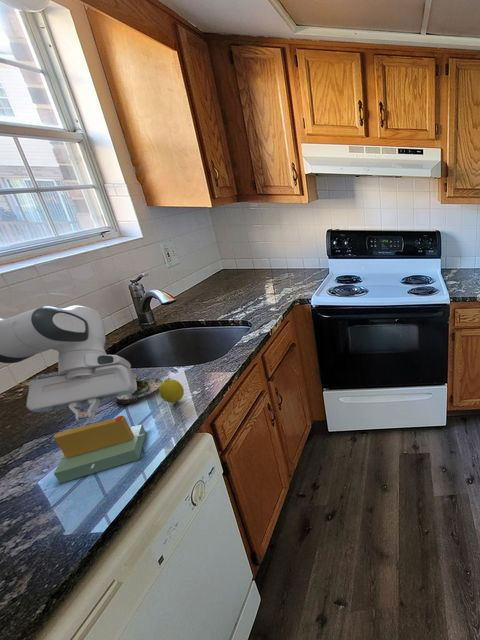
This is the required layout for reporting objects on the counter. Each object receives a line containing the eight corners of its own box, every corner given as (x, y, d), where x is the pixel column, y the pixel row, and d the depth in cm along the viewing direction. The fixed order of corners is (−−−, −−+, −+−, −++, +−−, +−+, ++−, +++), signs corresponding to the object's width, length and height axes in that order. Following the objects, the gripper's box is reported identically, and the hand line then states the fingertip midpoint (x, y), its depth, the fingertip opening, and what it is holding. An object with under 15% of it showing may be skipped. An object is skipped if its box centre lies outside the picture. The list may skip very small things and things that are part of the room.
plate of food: (136, 406, 106) (126, 385, 103) (106, 402, 108) (94, 380, 105) (174, 384, 116) (165, 364, 113) (145, 381, 119) (136, 361, 116)
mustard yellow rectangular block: (66, 458, 83) (53, 437, 80) (69, 453, 84) (56, 432, 82) (132, 439, 88) (121, 419, 85) (133, 435, 90) (123, 414, 87)
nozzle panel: (49, 493, 78) (41, 483, 76) (73, 448, 90) (67, 438, 89) (143, 464, 85) (137, 454, 83) (153, 426, 98) (148, 416, 96)
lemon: (180, 395, 111) (171, 372, 107) (191, 399, 108) (182, 376, 105) (160, 405, 106) (150, 382, 103) (171, 410, 104) (161, 386, 100)
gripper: (19, 373, 86) (18, 430, 82) (126, 354, 94) (129, 405, 90) (38, 380, 92) (38, 434, 88) (137, 362, 99) (141, 410, 96)
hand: (85, 419), depth 89 cm, fingers closed
